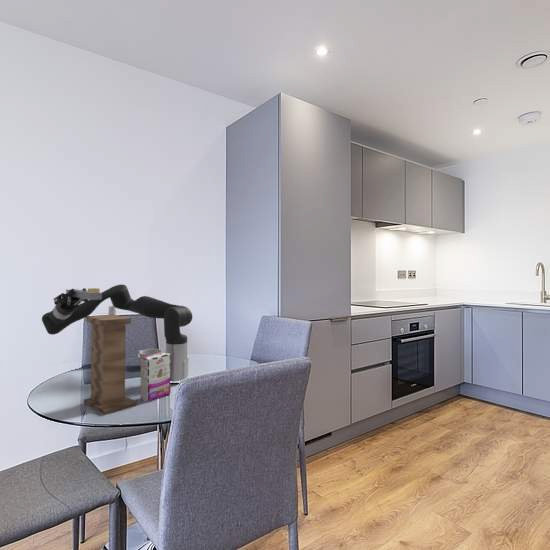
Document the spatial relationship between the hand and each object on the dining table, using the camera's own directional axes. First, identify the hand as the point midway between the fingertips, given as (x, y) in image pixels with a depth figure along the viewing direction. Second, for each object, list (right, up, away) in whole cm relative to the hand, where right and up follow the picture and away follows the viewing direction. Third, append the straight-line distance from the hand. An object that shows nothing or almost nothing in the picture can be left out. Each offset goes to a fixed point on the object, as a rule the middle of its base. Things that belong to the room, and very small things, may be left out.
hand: (79, 290), depth 158 cm
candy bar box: (+34, -42, -8) cm, 54 cm away
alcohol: (-4, -40, +40) cm, 57 cm away
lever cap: (+3, -3, -2) cm, 5 cm away
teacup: (+16, -40, +37) cm, 57 cm away
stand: (+20, -41, -17) cm, 49 cm away
